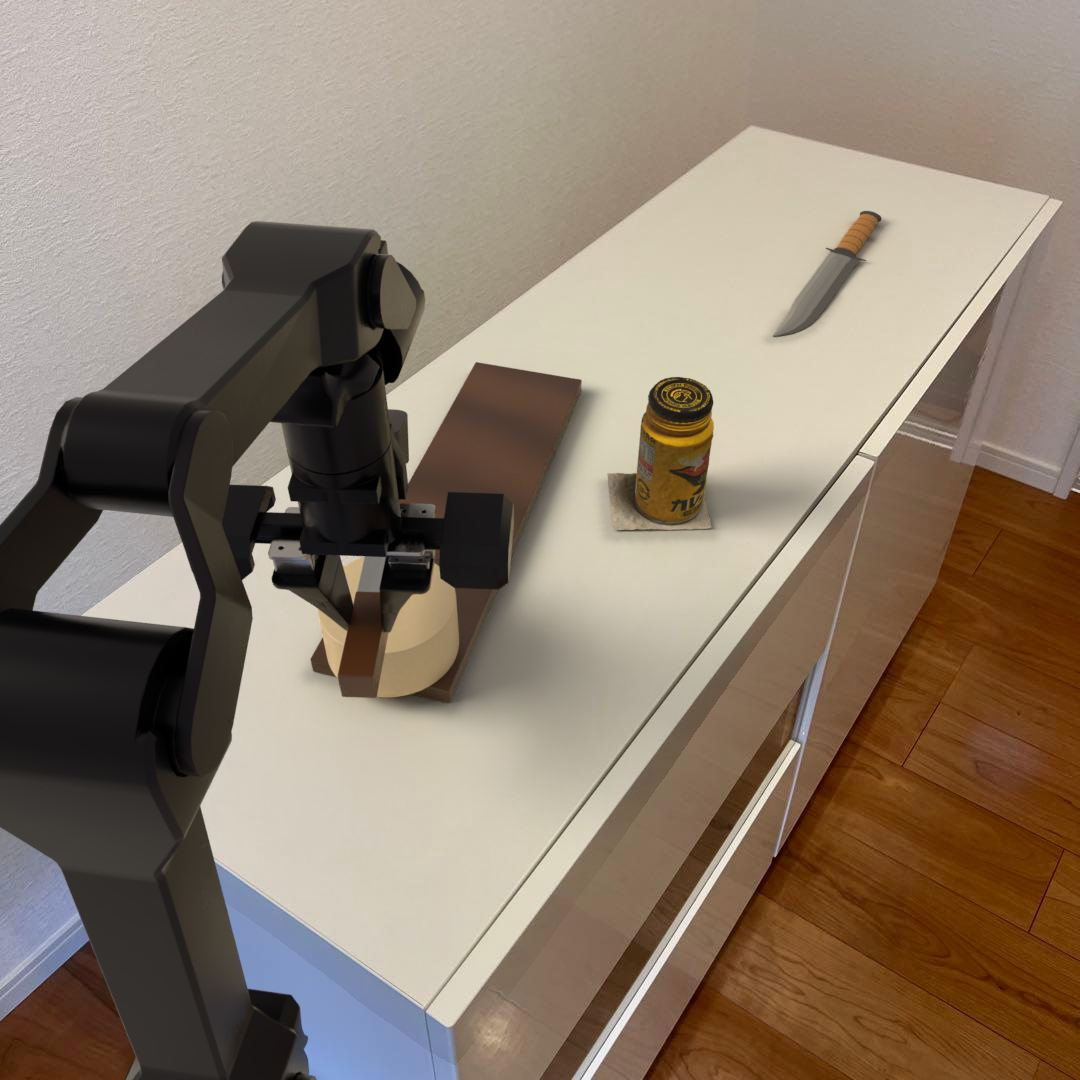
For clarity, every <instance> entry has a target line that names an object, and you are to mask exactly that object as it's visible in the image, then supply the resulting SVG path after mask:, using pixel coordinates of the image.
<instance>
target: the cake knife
mask: <svg viewBox="0 0 1080 1080" xmlns="http://www.w3.org/2000/svg"><path fill="white" fill-rule="evenodd" d="M363 557H364V562H363V566H362V571H361V575H360V580H359V585H358V589H357V592H356V594H355V598H354V603H353V609H352V614H351V618H350V622H349V625H348V630H347V634H346V639H345V644H344V648H343V653H342V657H341V662H340V666H339V671H338V678H337V679H338V684H339V689H340V694H341V697H343V698H362V699H363V698H364V699H365V698H366V699H376V698H378V697H377V693H378V687H379V682H380V676H381V671H382V665H383V660H384V655H385V649H386V644H387V638H388V633H389V632H385V631H384V628H383V626H382V624H381V610H380V591H379V588H380V583H381V578H382V573H383V568H384V563H385V559H386V557H368V556H363Z"/></svg>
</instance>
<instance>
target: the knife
mask: <svg viewBox="0 0 1080 1080" xmlns="http://www.w3.org/2000/svg"><path fill="white" fill-rule="evenodd" d="M879 222H882V216H881V215H880V214H879V213H878V212H875V211H871V210H863V211H860V212H859V216H858V218H857V219H856V220H855V221H854V222H853V223H852V225H851V226H850V228H849V229H848V230H847V232H846V233H845V234H844V235H843V237H842V238H841V240H840V241H839V243H838V244H837V247H834V249H833V248H830V247H825V249H826V250H828V251H829V253H828V254H827V256H826V257H825V259H824V260H823V261H822V263H821V264H820V265H819V266H818V268H817V269H816V271H815V272H814V273H813V275H812V276H811V278H810V279H809V280H808V282H807V283H806V284H805V285H804V287H803V289H802V290H801V291H800V292H799V294H798V295H797V296H796V298H795V299H794V301H793V303H792V305H791V307H790V309H789V311H788V313H787V314H786V316H785V317H784V318H783V320H782V322H781V323H780V325H779V326H778V327H777V329H776V330H775V332H774V333H773V335H772V337H781V336H786V335H791V334H795V333H798V332H800V331H803V330H804V329H806V328H808V327H809V326H812V324H813V323H814V322H815V321H816V320H818V318H819V317H820V316H821V314H822V313H823V312H824V311H825V309H826V308H827V306H828V305H829V304H830V303H831V301H832V299H833V298H834V297H835V295H836V293H837V292H838V291H839V289H840V288H841V286H842V285H843V284H844V282H845V280H846V279H847V278H848V276H849V275H850V274H851V272H852V270H853V269H854V267H856V266H857V265H858V264H859V263H860V261H861V262H862V261H863V262H867V260H866V259H864V258H861V257H858V256H856V254H857V253H858V252H859V250H860V249H861V247H862V246H863V245H864V244H865V242H866V241H867V239H868V238H869V236H870V235H871V233H872V232H873V230H874V229H875V227H876V226H877V224H878V223H879Z"/></svg>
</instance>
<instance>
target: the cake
mask: <svg viewBox="0 0 1080 1080" xmlns="http://www.w3.org/2000/svg"><path fill="white" fill-rule="evenodd" d="M364 557H365V556H361V557H360V558H357V559H355V560H353V561H351V562H349V563H346V564H345V565H344V566H343V568H344V572H345V576H346V579H347V583H348V586H349V590H350V594H351V597H352V601H353V603H354V598H355V594H356V592H357V589H358V585H359V580H360V575H361V571H362V566H363V562H364ZM317 616H318V620H319V625H320V630H321V634H322V635H321V636H322V637H323V640H324V645H325V650H326V654H327V659H328V663H329V665H330V668H331V670H332V671H333V673H334V674H335V676H336V677H335V676H334V677H335V678H337V679H338V671H339V666H340V662H341V657H342V653H343V648H344V644H345V639H346V634H347V631H346V630H344V629H343V628H342V627H341V626H339V625H338V624H337V623H336V622H334V621H333V620H332V619H331V618H329V617H328V616H327V615H325V614H324V613H323V612H322V611H320V610H319V609H318V608H317ZM458 649H459V629H458V615H457V601H456V592H455V588H454V587H452V586H451V585H449V584H448V583H446V582H445V581H443V580H442V579H440V569H439V566H438V565H437V564H435V563H434V568H433V574H432V580H431V587H430V589H429V591H428V592H426V593H424V594H413V595H412V596H411V597H410V598H409V599H408V601H407V602H406V603H405V604H404V605H403V607H402V608H401V609H400V611H399V613H398V616H397V618H396V620H395V623H394V625H393V628H392V630H391V632H390V633H388V638H387V644H386V649H385V655H384V660H383V665H382V671H381V676H380V682H379V687H378V693H377V697H376V698H397V697H404V696H405V697H406V696H408V695H413V693H415V692H418V691H421V690H423V689H425V688H427V687H429V686H431V685H432V684H434V683H435V682H437V681H438V680H439V679H440V678H442V677H443V676H444V675H445V674H446V672H447V671H448V670H449V669H450V667H451V666H452V665H453V663H454V661H455V659H456V656H457V653H458Z"/></svg>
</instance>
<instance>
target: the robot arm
mask: <svg viewBox="0 0 1080 1080" xmlns="http://www.w3.org/2000/svg"><path fill="white" fill-rule="evenodd" d="M221 262H222V272H221V286H222V291H221V292H219V293H218V294H217V295H216V296H214V297H213V298H212V299H211V300H210V301H208V302H207V303H206V304H205V305H204V306H202V307H201V308H200V309H199V310H197V311H196V312H195V313H194V314H193V315H192V316H190V317H189V318H188V319H186V321H184V322H182V324H181V325H179V326H178V327H177V328H175V329H174V330H173V331H172V332H171V333H169V334H168V335H167V336H166V337H164V338H163V339H162V340H161V341H159V342H158V343H157V344H156V345H155V346H154V347H152V348H151V349H150V350H149V351H147V352H146V353H145V354H144V355H142V356H141V357H140V358H138V359H137V360H136V361H135V362H134V363H132V365H130V366H129V367H128V368H127V369H126V370H124V371H123V372H122V373H120V375H118V376H117V377H115V379H113V380H112V381H110V383H108V384H107V385H106V386H105V387H104V388H102V389H99V390H97V391H96V390H95V391H90V392H89V393H87V394H85V395H84V396H83V397H82V396H75V397H73V398H70V399H68V400H65V401H64V403H63V404H62V405H61V406H60V407H59V409H58V410H57V411H56V412H55V415H54V418H53V421H52V424H51V426H50V428H49V432H48V435H47V440H46V444H45V449H44V453H43V457H42V460H41V465H40V468H39V469H40V470H39V473H38V477H37V480H36V482H35V483H34V485H33V487H31V489H29V491H28V492H27V493H26V494H25V496H24V497H23V498H22V499H21V500H20V501H19V502H18V504H17V505H15V507H14V508H13V509H12V511H11V512H10V513H9V514H8V515H7V516H6V517H5V518H4V519H3V521H2V522H1V523H0V829H2V830H4V831H5V832H7V833H9V834H10V835H12V836H14V837H15V838H16V839H18V840H20V841H22V842H23V843H24V844H27V845H28V846H30V847H31V848H33V849H35V850H36V851H38V852H40V853H42V854H43V856H46V857H47V858H49V859H51V860H52V861H54V863H56V864H57V866H58V867H59V869H60V870H61V873H62V876H63V878H64V881H65V884H66V886H67V888H68V890H69V893H70V896H71V898H72V900H73V904H74V905H75V908H76V911H77V914H78V915H79V918H80V920H81V923H82V925H83V928H84V930H85V933H86V936H87V938H88V940H89V943H90V945H91V948H92V950H93V953H94V956H95V958H96V961H97V964H98V965H99V968H100V970H101V973H102V975H103V978H104V980H105V983H106V985H107V988H108V990H109V993H110V995H111V998H112V1000H113V1003H114V1005H115V1008H116V1011H117V1013H118V1016H119V1018H120V1020H121V1022H122V1026H123V1027H124V1031H125V1033H126V1035H127V1038H128V1040H129V1043H130V1046H131V1047H132V1050H133V1053H134V1055H135V1059H134V1060H133V1061H132V1063H131V1065H130V1066H129V1068H128V1071H127V1073H126V1075H125V1077H124V1080H317V1078H316V1077H317V1076H315V1075H311V1074H310V1064H309V1058H308V1055H307V1053H306V1051H305V1048H306V1046H307V1045H308V1040H309V1036H308V1035H307V1034H306V1033H305V1031H304V1029H303V1023H302V1015H301V1006H300V1004H299V1003H298V1002H297V1000H296V999H295V998H294V996H293V994H290V993H283V992H276V991H269V990H262V989H255V988H254V989H252V988H248V985H247V981H246V977H245V973H244V969H243V965H242V962H241V958H240V955H239V950H238V946H237V942H236V939H235V935H234V931H233V927H232V922H231V920H230V916H229V911H228V908H227V903H226V899H225V897H224V893H223V889H222V885H221V880H220V877H219V873H218V869H217V866H216V860H215V857H214V853H213V849H212V846H211V842H210V838H209V835H208V831H207V827H206V823H205V819H204V815H203V812H202V807H201V806H202V804H203V801H204V799H205V797H206V795H207V793H208V790H209V789H210V786H211V784H212V783H213V781H214V778H215V776H216V775H217V773H218V770H219V768H220V767H221V764H222V762H223V760H224V759H225V756H226V754H227V752H228V749H230V746H231V743H232V742H233V733H232V731H233V727H234V722H235V717H236V712H237V707H238V700H239V695H240V690H241V685H242V680H243V673H244V668H245V662H246V657H247V652H248V647H249V641H250V635H251V631H252V624H253V621H254V617H253V606H252V604H251V601H250V598H249V595H248V593H247V590H246V587H245V585H244V582H243V581H244V579H246V578H247V577H249V575H251V574H252V573H253V572H254V569H255V565H256V563H255V560H254V556H253V551H254V549H255V545H256V544H262V545H263V544H264V545H265V544H266V545H269V549H268V552H267V555H268V558H269V560H272V562H273V567H274V569H273V571H272V576H271V582H272V585H273V586H274V588H275V589H277V590H286V591H289V592H291V593H293V594H294V595H296V596H298V597H299V598H300V599H302V600H304V601H305V602H307V603H309V604H310V605H311V606H313V607H315V609H317V610H318V609H319V610H320V611H322V612H323V613H324V614H325V615H327V616H328V617H329V618H331V619H332V620H333V621H334V622H336V623H337V624H338V625H339V626H341V627H342V628H343V629H344V630H346V631H347V630H348V625H349V622H350V618H351V614H352V609H353V601H352V597H351V594H350V590H349V586H348V583H347V579H346V576H345V572H344V568H343V567H344V566H343V562H342V558H341V556H343V557H344V556H345V557H348V556H349V557H365V556H368V557H386V559H385V563H384V568H383V573H382V578H381V583H380V588H379V591H380V610H381V624H382V626H383V628H384V631H385V632H389V633H390V632H391V630H392V628H393V625H394V623H395V620H396V618H397V616H398V613H399V611H400V609H401V608H402V607H403V605H404V604H405V603H406V602H407V601H408V599H409V598H410V597H411V596H412V595H413V594H424V593H426V592H428V591H429V589H430V587H431V580H432V574H433V568H434V562H435V555H436V550H440V558H439V569H440V579H442V580H443V581H445V582H446V583H448V584H449V585H451V586H452V587H454V588H464V589H492V590H500V589H502V588H504V587H505V586H506V585H508V584H509V583H510V574H511V573H510V571H511V562H512V561H511V560H512V557H511V551H512V540H513V529H514V504H513V503H512V502H511V501H510V500H509V498H508V497H507V496H506V495H505V494H495V493H466V492H448V496H447V502H446V509H445V515H444V518H435V513H436V507H435V505H433V504H415V503H401V504H399V500H406V496H407V491H408V483H409V479H408V470H407V469H408V468H407V464H408V463H409V461H410V449H409V448H410V447H409V445H410V443H409V419H408V418H409V417H408V416H409V415H408V413H407V411H404V410H400V409H393V408H392V409H391V408H388V406H389V405H388V400H387V391H386V390H387V389H386V386H387V385H388V384H394V383H395V382H397V380H398V379H399V377H400V374H401V371H402V369H403V367H404V365H405V361H406V359H407V356H408V354H409V351H410V349H411V345H412V344H413V340H414V338H415V336H416V333H417V330H418V328H419V325H420V322H421V320H422V317H423V314H424V312H425V309H426V295H425V291H424V289H423V288H422V287H421V284H420V282H419V281H418V279H417V277H415V275H414V274H413V272H412V271H410V269H408V268H407V267H406V266H404V265H403V264H402V263H400V262H398V261H396V258H395V257H394V256H393V255H392V254H389V250H388V242H387V241H386V240H383V239H382V236H381V235H380V234H379V232H378V231H377V230H375V229H374V228H373V229H371V228H357V227H346V226H345V227H344V226H342V227H341V226H332V225H331V226H330V225H318V224H317V225H315V224H304V223H291V222H290V223H289V222H277V221H261V220H256V221H251V222H249V224H247V225H246V226H245V227H244V229H243V230H242V231H241V232H240V234H239V235H238V236H237V237H236V238H235V240H233V242H232V243H231V245H230V246H229V247H228V249H227V250H226V251H225V252H224V254H223V255H222V256H221ZM270 423H276V424H281V430H282V434H283V439H284V443H285V448H286V452H287V458H288V463H289V468H290V471H291V472H290V473H291V475H290V479H289V481H288V484H287V491H288V496H289V501H290V502H297V504H298V505H297V506H289V507H287V508H286V509H285V511H284V512H277V511H276V512H272V511H270V510H271V509H272V508H273V507H274V506H275V504H276V500H277V498H276V493H275V490H274V486H269V485H256V484H255V485H253V484H251V485H250V484H231V481H232V473H233V467H234V466H235V465H236V464H237V462H238V461H239V460H240V459H241V458H242V456H243V455H244V454H245V453H246V451H247V450H248V449H249V448H250V447H251V445H252V444H254V442H255V440H256V439H257V438H258V437H259V436H260V435H261V433H262V432H263V431H264V430H265V429H266V427H267V426H268V425H269V424H270ZM103 511H110V512H122V513H132V514H141V515H150V516H161V517H168V518H169V517H170V518H173V520H174V523H175V526H176V529H177V531H178V534H179V537H180V541H181V543H182V547H183V550H184V552H185V555H186V558H187V561H188V564H189V567H190V571H191V572H192V574H193V577H194V580H195V584H196V586H197V589H198V592H199V602H198V606H197V607H198V608H197V611H196V615H195V616H196V617H195V621H194V626H193V627H186V626H179V625H178V626H176V625H169V624H161V623H160V624H159V623H151V622H140V621H132V620H122V619H114V618H106V617H105V618H104V617H96V616H85V615H77V614H69V613H68V614H67V613H59V612H50V611H42V610H34V607H35V603H36V599H37V595H38V593H39V591H40V590H41V589H42V588H43V586H44V585H46V583H47V582H48V580H50V578H51V577H52V576H53V575H54V574H55V572H56V571H57V570H58V569H59V567H61V565H62V564H63V563H64V562H65V560H67V558H68V557H69V555H70V554H71V553H72V552H73V551H74V550H75V548H76V547H77V546H79V544H80V543H81V542H82V540H83V539H84V538H85V537H86V536H87V534H89V532H90V531H91V530H92V529H93V527H94V526H95V525H96V524H97V522H98V521H99V519H100V518H101V515H102V513H103Z"/></svg>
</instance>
